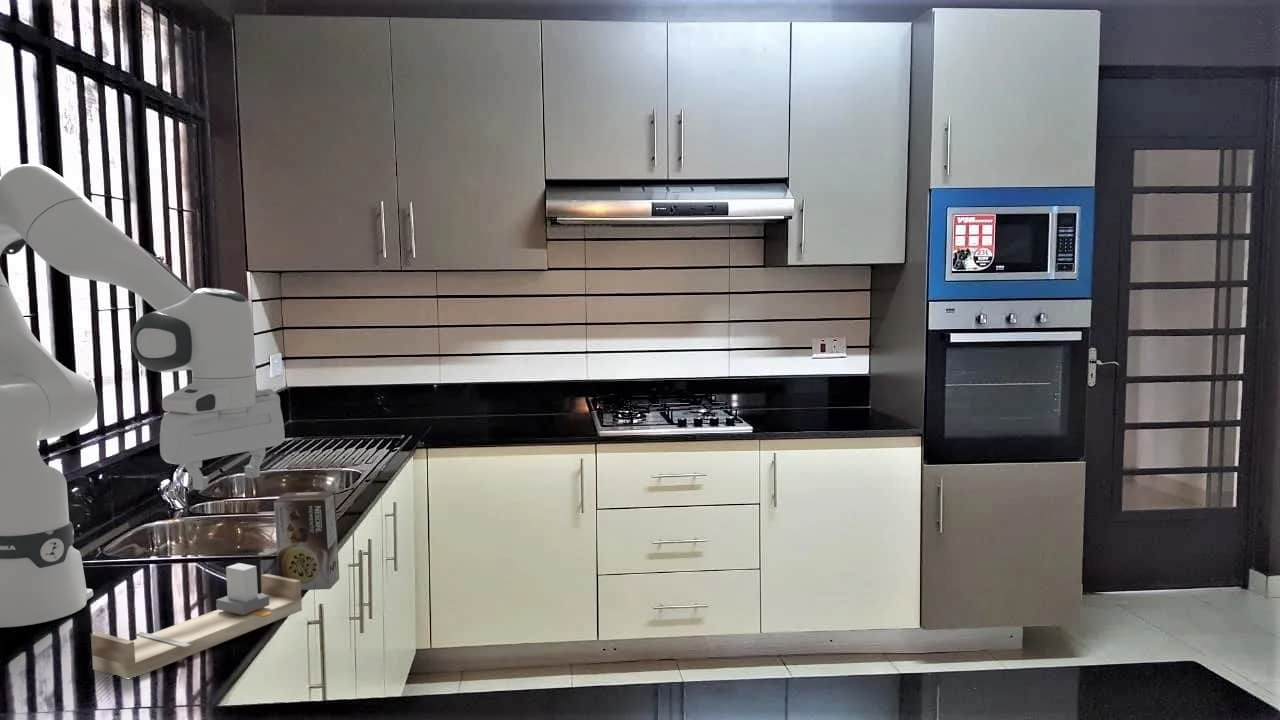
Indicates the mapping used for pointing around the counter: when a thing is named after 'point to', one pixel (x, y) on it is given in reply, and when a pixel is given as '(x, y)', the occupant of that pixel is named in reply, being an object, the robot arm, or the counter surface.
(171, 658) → the fader track
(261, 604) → the fader tab
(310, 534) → the coffee box
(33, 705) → the counter surface
